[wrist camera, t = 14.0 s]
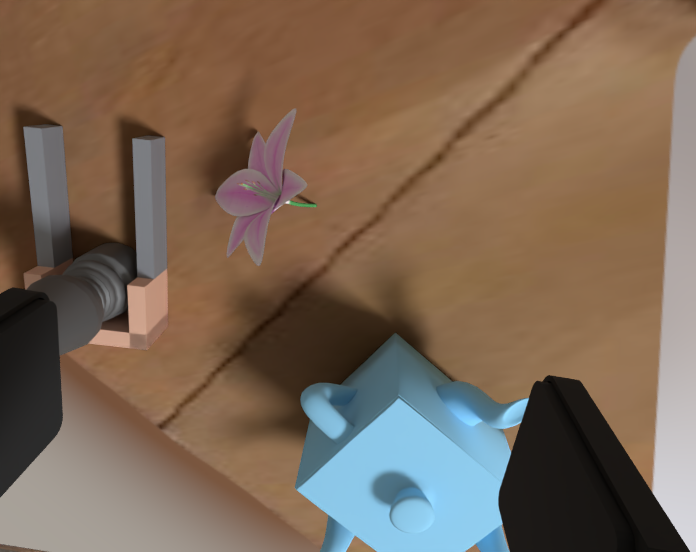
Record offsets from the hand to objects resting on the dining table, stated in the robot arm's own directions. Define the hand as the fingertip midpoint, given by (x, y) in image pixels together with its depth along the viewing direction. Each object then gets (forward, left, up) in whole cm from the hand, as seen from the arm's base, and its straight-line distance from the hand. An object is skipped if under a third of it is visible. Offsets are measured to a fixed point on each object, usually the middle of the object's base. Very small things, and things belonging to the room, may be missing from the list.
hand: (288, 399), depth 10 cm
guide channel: (+9, -22, -37) cm, 44 cm away
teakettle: (+24, +8, -38) cm, 45 cm away
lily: (+3, -7, -38) cm, 38 cm away
